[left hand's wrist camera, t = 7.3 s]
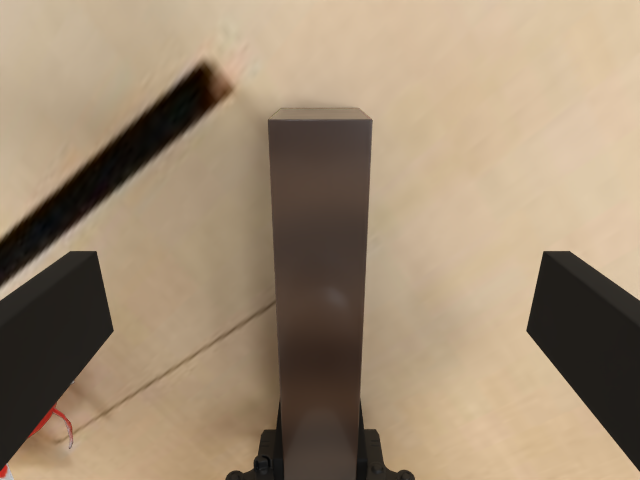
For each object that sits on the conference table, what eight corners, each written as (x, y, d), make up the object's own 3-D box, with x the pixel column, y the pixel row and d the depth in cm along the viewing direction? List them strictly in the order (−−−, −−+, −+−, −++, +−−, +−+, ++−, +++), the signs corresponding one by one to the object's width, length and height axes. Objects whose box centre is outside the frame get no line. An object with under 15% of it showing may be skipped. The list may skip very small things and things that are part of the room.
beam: (280, 108, 26) (267, 119, 20) (359, 108, 26) (372, 119, 20) (291, 439, 37) (285, 518, 30) (348, 439, 37) (354, 518, 30)
